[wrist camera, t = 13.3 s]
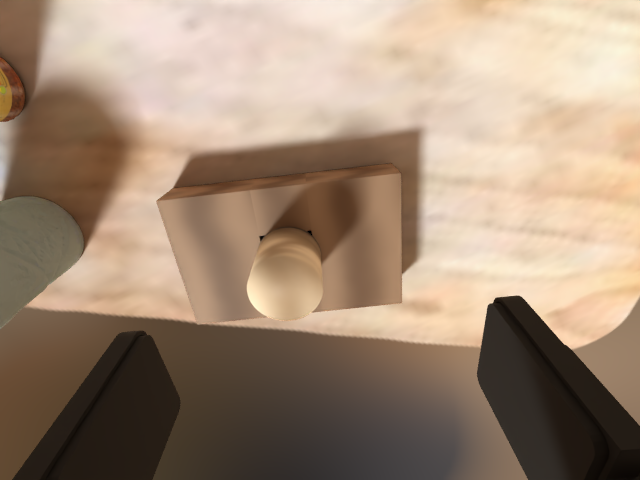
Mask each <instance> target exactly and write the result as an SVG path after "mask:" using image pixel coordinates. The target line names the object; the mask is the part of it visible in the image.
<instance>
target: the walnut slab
mask: <svg viewBox="0 0 640 480" xmlns="http://www.w3.org/2000/svg"><path fill="white" fill-rule="evenodd" d="M156 202H157V205H158V208H159V211H160V214H161V217H162V220H163V223H164V226H165V229H166V232H167V235H168V238H169V241H170V244H171V247H172V250H173V253H174V256H175V259H176V262H177V265H178V268H179V271H180V274H181V277H182V280H183V283H184V286H185V289H186V292H187V295H188V298H189V301H190V304H191V307H192V310H193V313H194V316H195V318H196V321H197V324H207V323H216V322H226V321H235V320H245V319H254V318H264V317H267V316H265V315H263V314H262V313H260V312H259V311H258V310H257V309H256V308H255V307H254V306H253V305H252V303H251V302H250V300H249V297H248V294H247V282H248V279H249V276H250V272H251V269H252V266H253V263H254V260H255V257H256V254H257V250H258V247H259V244H260V242H261V240H262V239H263V238H264V236H265V235H266V234H268V233H269V232H271V231H272V230H274V229H277V228H280V227H297V228H300V229H303V230H305V231H309V230H312V236H313V237H314V238H315V239H316V241H317V242H318V244H319V246H320V250H321V263H322V281H323V295H322V299H321V301H320V303H319V305H318V306H317V307H316V309H315V310H314V311H313V312H321V311H331V310H340V309H350V308H359V307H369V306H379V305H388V304H398V303H402V230H401V173H400V172H399V170H398V169H397V168H396V167H395V166H394V165H393V164H392V163H389V164H380V165H371V166H363V167H354V168H345V169H337V170H328V171H319V172H311V173H302V174H293V175H285V176H276V177H267V178H258V179H250V180H241V181H232V182H224V183H215V184H206V185H198V186H189V187H180V188H173V189H171V190H170V191H169V192H167V193H166V194H165V195H164V196H162V197H161V198H160V199H158V200H157V201H156ZM311 313H312V312H311Z"/></svg>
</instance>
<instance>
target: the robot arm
mask: <svg viewBox="0 0 640 480" xmlns="http://www.w3.org/2000/svg"><path fill="white" fill-rule="evenodd" d="M477 377H478V381H479V384H480V387H481V389H482V390H483V392H484V394H485V396H486V398H487V400H488V402H489V404H490V406H491V408H492V410H493V412H494V414H495V416H496V418H497V419H498V421H499V424H500V426H501V427H502V429H503V431H504V433H505V435H506V437H507V439H508V441H509V443H510V445H511V447H512V449H513V451H514V453H515V455H516V457H517V459H518V461H519V463H520V465H521V466H522V468H523V470H524V472H525V474H526V476H527V478H528V480H640V426H639V425H638V424H637V422H636V421H635V420H634V419H633V418H632V417H631V416H630V415H629V413H628V412H627V411H626V410H625V409H624V408H623V407H622V406H621V405H620V404H619V402H618V401H617V400H616V399H615V398H614V397H613V396H612V394H611V393H610V392H609V391H608V390H607V389H606V388H605V387H604V386H603V384H602V383H601V382H600V381H599V380H598V379H597V378H596V377H595V375H594V374H593V373H592V372H591V371H590V370H589V369H588V368H587V367H586V365H585V364H584V363H583V362H582V361H581V360H580V359H579V358H578V357H577V355H576V354H575V353H574V352H573V351H572V350H571V349H570V348H569V347H568V346H566V345H564V344H563V343H562V342H561V341H560V339H559V338H558V337H557V336H556V335H555V334H554V333H553V332H552V330H551V329H550V328H549V327H548V326H547V325H546V324H545V322H544V321H543V320H542V319H541V318H540V317H539V316H538V315H537V313H536V312H535V311H534V310H533V309H532V308H531V307H530V306H529V304H528V303H527V302H526V301H525V300H524V299H523V298H522V297H521V296H508V297H498V298H495V300H494V302H493V303H492V304H489V305H488V308H487V314H486V320H485V327H484V333H483V339H482V345H481V352H480V358H479V364H478V371H477ZM179 409H180V397H179V395H178V393H177V391H176V388H175V386H174V384H173V382H172V380H171V377H170V375H169V373H168V371H167V369H166V366H165V364H164V362H163V360H162V358H161V356H160V354H159V351H158V349H157V347H156V344H155V342H154V340H153V338H152V337H151V336H150V335H147V334H146V332H144V331H131V332H122V333H120V334H118V336H116V338H115V339H114V341H113V342H112V343H111V344H110V346H109V347H108V349H107V350H106V352H105V353H104V354H103V355H102V357H101V358H100V360H99V361H98V362H97V364H96V365H95V366H94V368H93V369H92V371H91V372H90V373H89V375H88V376H87V378H86V379H85V380H84V382H83V383H82V384H81V386H80V387H79V389H78V390H77V392H76V393H75V394H74V395H73V397H72V398H71V400H70V401H69V402H68V404H67V405H66V406H65V408H64V410H63V411H62V412H61V413H60V415H59V416H58V417H57V419H56V420H55V422H54V423H53V425H52V426H51V427H50V428H49V430H48V431H47V433H46V434H45V435H44V437H43V438H42V439H41V441H40V442H39V444H38V445H37V446H36V448H35V449H34V450H33V452H32V453H31V455H30V456H29V458H28V459H27V460H26V461H25V463H24V464H23V466H22V467H21V469H20V470H19V471H18V473H17V474H16V475H15V477H14V478H13V479H12V480H152V479H153V476H154V474H155V471H156V469H157V466H158V464H159V461H160V459H161V456H162V453H163V451H164V448H165V445H166V443H167V441H168V437H169V436H170V433H171V430H172V428H173V425H174V423H175V420H176V418H177V415H178V412H179Z"/></svg>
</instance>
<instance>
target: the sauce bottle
mask: <svg viewBox="0 0 640 480" xmlns="http://www.w3.org/2000/svg"><path fill="white" fill-rule="evenodd" d="M24 103H25V91H24V88H23V85H22V83H21V81H20V78H19V77H18V75H17V74H16V73H15V71H14V70H13V69H12V68H11V66H10V65H9V64H8V63H7V62H6V61H5V60H4V59H3V58H1V57H0V122H6V121H9V120H12V119H14V118H15V117H16V116H18V115H19V114H20V112H21V111H22V110H23V106H24Z"/></svg>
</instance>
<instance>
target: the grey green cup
mask: <svg viewBox="0 0 640 480" xmlns="http://www.w3.org/2000/svg"><path fill="white" fill-rule="evenodd" d="M83 248H84V238H83V234H82V231H81V229H80V227H79V225H78V224H77V222H76V221H75V220H74V218H73V217H72V216H71V215H70V214H69V213H68V212H67V211H65V210H64V209H63V208H62V207H60V206H59V205H57V204H55V203H53V202H51V201H49V200H47V199H43V198H40V197H34V196H20V197H15V198H11V199H7V200H3V201H0V329H1V328H2V327H3V326H4V325H5V324H7V323H8V322H9V321H10V320H11V319H12V318H13V317H14V316H15V315H16V314H17V313H18V312H19V311H20V310H21V309H22V308H23V307H24V306H26V305H27V304H28V303H29V302H30V301H32V300H33V299H34V298H35V297H36V296H37V295H39V294H40V293H41V292H43V291H44V289H46V287H47V286H48V285H49V284H51V283H52V282H53V281H55V280H56V279H57V278H58V277H59V276H61V275H62V274H63V273H65V272H66V271H67V270H68V269H70V268H71V267H72V266H73V265H74V264H75V263H76V262H77V261H78V260H79V258H80V257H81V254H82V252H83Z"/></svg>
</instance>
